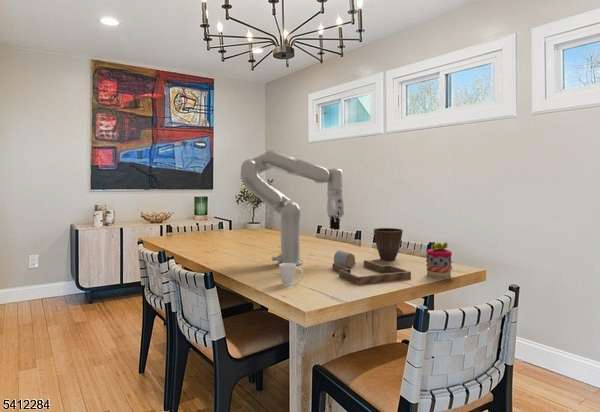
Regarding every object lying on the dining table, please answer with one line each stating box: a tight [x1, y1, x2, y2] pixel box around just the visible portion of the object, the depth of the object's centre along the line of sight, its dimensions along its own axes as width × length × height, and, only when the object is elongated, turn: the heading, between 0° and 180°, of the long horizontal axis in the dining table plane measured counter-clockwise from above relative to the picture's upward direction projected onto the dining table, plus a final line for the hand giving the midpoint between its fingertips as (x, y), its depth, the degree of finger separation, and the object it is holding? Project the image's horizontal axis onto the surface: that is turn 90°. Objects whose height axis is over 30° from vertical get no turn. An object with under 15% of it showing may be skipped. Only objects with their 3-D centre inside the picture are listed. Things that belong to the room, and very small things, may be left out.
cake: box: [425, 241, 453, 279], centre depth 171 cm, size 10×11×15 cm
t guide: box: [332, 260, 412, 286], centre depth 174 cm, size 26×29×3 cm
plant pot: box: [373, 227, 403, 262], centre depth 208 cm, size 15×15×16 cm
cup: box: [278, 263, 304, 287], centre depth 157 cm, size 7×10×8 cm
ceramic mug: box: [333, 250, 357, 269], centre depth 192 cm, size 11×8×8 cm
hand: (334, 228), depth 201 cm, fingers open, 3 cm apart
